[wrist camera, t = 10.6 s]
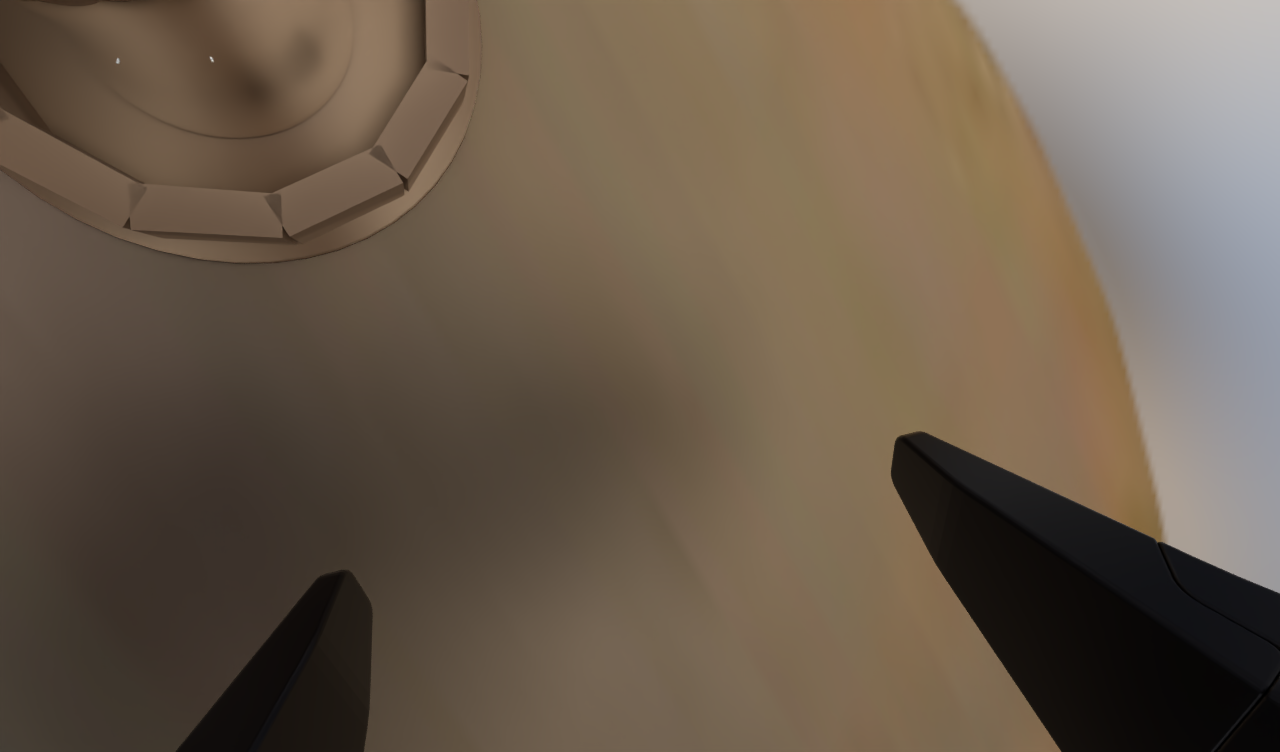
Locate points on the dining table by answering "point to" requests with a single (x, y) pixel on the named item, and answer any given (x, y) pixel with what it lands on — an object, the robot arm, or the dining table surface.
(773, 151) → the dining table surface
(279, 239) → the faceted bowl
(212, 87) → the beer glass
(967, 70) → the dining table surface
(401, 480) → the dining table surface
